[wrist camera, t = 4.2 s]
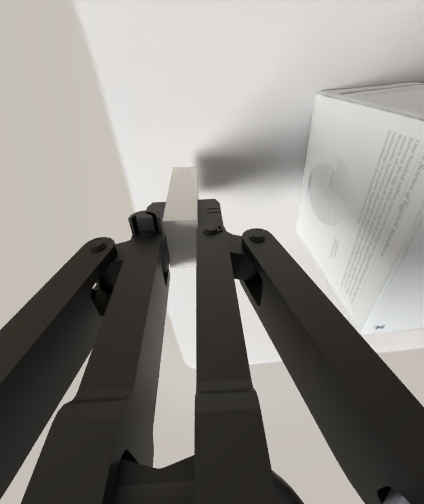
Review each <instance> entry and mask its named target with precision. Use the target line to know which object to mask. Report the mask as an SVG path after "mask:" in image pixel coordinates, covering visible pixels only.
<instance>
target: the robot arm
mask: <svg viewBox="0 0 424 504" xmlns="http://www.w3.org/2000/svg"><path fill="white" fill-rule="evenodd" d="M128 220H129V223H130V227H131V230H132V234H133V235H132V238H131V240H129V241H127V242H123V243H119V244H115V243H114V240H112V239H111V238H107V237H100V238H95V239H93V240H91V241H89V242H88V243H86V244H85V245H84V246H83V247H82V248H81V249H80V250H79V251H78V252H77V253H76V254H75V255H74V256H73V257H72V258H71V259H70V260H69V261H68V262H67V263H66V264H65V265H64V266H63V267H62V268H61V269H60V270H59V271H58V272H57V273H56V274H55V275H54V276H53V277H52V278H51V279H50V280H49V281H48V282H47V283H46V284H45V285H44V286H43V287H42V288H41V289H40V290H39V291H38V292H37V293H36V294H35V295H34V296H33V297H32V298H31V300H29V301H28V302H27V303H26V304H25V306H24V307H23V308H22V309H21V310H20V311H19V312H18V313H17V314H16V315H15V316H14V317H13V318H12V319H11V320H10V321H9V322H8V323H7V324H6V325H5V326H4V327H3V328H2V329H1V330H0V499H1V497H2V496H3V494H4V493H5V491H6V490H7V488H8V487H9V485H10V484H11V482H12V480H13V479H14V477H15V475H16V474H17V472H18V470H19V469H20V467H21V466H22V464H23V462H24V460H25V459H26V457H27V456H28V454H29V452H30V451H31V449H32V447H33V446H34V444H35V442H36V441H37V439H38V438H39V436H40V434H41V433H42V431H43V429H44V427H45V426H46V424H47V423H48V421H49V419H50V418H51V416H52V414H53V413H54V411H55V410H56V408H57V406H58V405H59V403H60V401H61V400H62V398H63V396H64V394H65V393H66V391H67V390H68V388H69V386H70V385H71V383H72V382H73V380H74V378H75V377H76V375H77V373H78V372H79V370H80V368H81V367H82V365H83V363H84V362H85V360H86V358H87V357H88V355H89V353H90V352H91V350H92V352H91V355H90V358H89V361H88V364H87V367H86V369H85V372H84V375H83V378H82V381H81V384H80V386H79V389H78V392H77V394H76V396H75V398H74V399H73V400H72V401H70V402H68V403H66V404H64V405H63V406H62V408H61V409H60V410H59V411H58V413H57V415H56V417H55V419H54V421H53V423H52V425H51V428H50V430H49V433H48V435H47V438H46V440H45V443H44V446H43V448H42V451H41V453H40V456H39V458H38V461H37V464H36V466H35V469H34V471H33V474H32V476H31V479H30V482H29V484H28V487H27V489H26V492H25V494H24V497H23V499H22V502H21V504H304V503H303V502H302V500H301V499H300V498H299V496H298V495H297V494H296V493H295V491H293V489H292V488H291V487H290V486H289V485H288V484H287V483H286V482H285V481H284V480H283V479H282V478H281V477H280V476H278V475H277V474H276V473H275V472H274V471H272V470H271V464H270V459H269V453H268V448H267V442H266V437H265V432H264V427H263V421H262V415H261V409H260V405H259V400H258V396H257V393H256V391H255V389H254V388H253V385H252V381H251V375H250V370H249V363H248V358H247V352H246V346H245V340H244V334H243V328H242V323H241V317H240V311H239V305H238V299H237V293H236V287H235V282H234V279H239V280H240V284H241V285H242V287H243V289H244V291H245V293H246V295H247V296H248V298H249V300H250V302H251V304H252V306H253V307H254V309H255V311H256V313H257V315H258V317H259V318H260V320H261V322H262V324H263V326H264V328H265V329H266V331H267V333H268V335H269V337H270V339H271V340H272V342H273V344H274V346H275V348H276V350H277V351H278V353H279V355H280V357H281V359H282V361H283V362H284V364H285V366H286V368H287V369H288V372H289V373H290V375H291V377H292V379H293V381H294V382H295V385H296V386H297V388H298V390H299V392H300V394H301V396H302V397H303V399H304V401H305V403H306V405H307V406H308V408H309V410H310V412H311V414H312V416H313V417H314V419H315V421H316V423H317V425H318V427H319V429H320V430H321V432H322V434H323V436H324V438H325V440H326V441H327V443H328V445H329V447H330V449H331V451H332V452H333V454H334V456H335V458H336V460H337V461H338V463H339V465H340V466H341V468H342V470H343V471H344V473H345V475H346V476H347V478H348V480H349V481H350V483H351V484H352V486H353V487H354V488H355V490H356V491H357V493H358V494H359V496H360V497H361V498H362V500H363V501H364V503H365V504H424V407H423V406H422V405H421V404H420V403H419V401H418V400H417V399H416V398H415V397H414V396H413V394H412V393H411V392H410V391H409V390H408V389H407V388H406V387H405V385H404V384H403V383H402V382H401V381H400V380H399V379H398V377H397V376H396V375H395V374H394V373H393V372H392V371H391V369H390V368H388V366H387V365H386V364H385V363H384V361H383V360H382V359H381V358H380V357H379V356H378V355H377V353H376V352H375V351H374V350H373V349H372V348H371V347H370V346H369V344H368V343H367V342H366V341H365V340H364V339H363V338H362V336H361V335H360V334H359V333H358V332H357V331H356V330H355V328H354V327H353V326H352V325H351V324H350V323H349V322H348V320H347V319H346V318H345V317H344V316H343V315H342V314H341V313H340V311H339V310H338V309H337V308H336V307H335V306H334V305H333V303H332V302H331V301H330V300H329V299H328V298H327V297H326V295H325V294H324V293H323V292H322V291H321V290H320V289H319V287H318V286H317V285H316V284H315V283H314V282H313V281H312V279H311V278H310V277H309V276H308V275H307V274H306V273H305V272H304V270H303V269H302V268H301V267H300V266H299V265H298V264H297V262H296V261H295V260H294V259H293V258H292V257H291V256H290V254H289V253H288V252H287V251H286V250H285V249H284V248H283V246H282V245H281V244H280V243H279V242H278V241H277V240H276V239H275V237H274V236H273V235H272V234H271V233H270V232H268V231H266V230H263V229H257V228H256V229H249V230H247V231H245V232H244V233H243V235H242V236H237V235H233V234H230V233H228V232H227V231H226V229H225V228H224V226H223V221H222V215H221V209H220V203H219V202H218V201H217V200H216V199H204V200H199V196H198V181H197V167H178V168H173V171H172V176H171V181H170V186H169V191H168V196H167V201H166V202H157V203H152V204H151V205H149V206H148V207H147V210H145V211H139V212H136V213H134V214H132V215H131V216H130V217H129V218H128ZM169 262H170V267H171V268H185V267H196V362H197V384H196V385H197V386H196V395H195V455H193V456H191V457H189V458H186V459H184V460H181V461H179V462H176V463H174V464H172V465H169V466H167V467H164V468H161V469H156V468H153V456H154V445H153V423H154V414H155V405H156V395H157V387H158V378H159V369H160V361H161V351H162V343H163V334H164V325H165V316H166V307H167V298H168V289H169V281H170V272H169ZM95 283H96V284H97V285H96V286H95V287H94V288H93V289H92V287H93V286H94V284H95Z"/></svg>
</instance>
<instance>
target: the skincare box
mask: <svg viewBox="0 0 424 504" xmlns="http://www.w3.org/2000/svg"><path fill="white" fill-rule="evenodd" d="M295 232H296V234H297V235H298V237H299V238H300V240H301V241H302V243H303V244H304V245H305V247H306V249H307V250H308V252H309V253H310V254H311V256H312V257H313V259H314V261H315V262H316V264H317V265H318V267H319V268H320V270H321V272H322V273H323V275H324V276H325V278H326V279H327V281H328V283H329V284H330V286H331V287H332V289H333V291H334V292H335V294H336V296H337V297H338V299H339V301H340V302H341V304H342V305H343V307H344V309H345V310H346V312H347V314H348V315H349V317H350V319H351V320H352V322H353V323H354V325H355V327H356V328H357V330H358V331H359V333H360V334H361V335H363V336H366V335H374V334H381V333H391V332H398V331H407V330H415V329H424V83H418V82H408V83H397V84H390V85H382V86H371V87H361V88H351V89H340V90H325V91H321V92H319V93H317V94H316V96H315V103H314V110H313V116H312V122H311V128H310V135H309V142H308V148H307V155H306V161H305V168H304V175H303V181H302V188H301V195H300V202H299V210H298V216H297V224H296V230H295Z"/></svg>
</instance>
